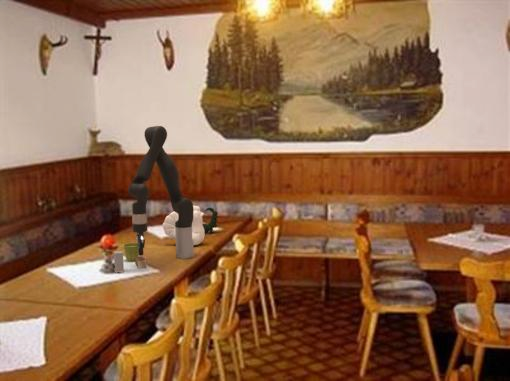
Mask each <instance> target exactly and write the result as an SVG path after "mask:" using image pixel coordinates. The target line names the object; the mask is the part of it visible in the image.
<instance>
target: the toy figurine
mask: <svg viewBox="0 0 510 381" xmlns="http://www.w3.org/2000/svg"><path fill="white" fill-rule="evenodd" d="M207 211H210V213H212V215H211V219H210V222H209V223H203V224H202V225H203V228H204V230H205V231H204V233H205V235H206V233H213V231H214V228H215V229H216V228H217V227H218V224H217V223H218V218H219V216H218V215H219V212H218V211H217V210H215V209H214V207H206V209H205V212H207Z"/></svg>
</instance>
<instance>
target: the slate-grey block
mask: <svg viewBox="0 0 510 381" xmlns="http://www.w3.org/2000/svg"><path fill="white" fill-rule="evenodd" d="M113 265H114V266H115V268H114V273H115V272H122V273H125V267H124V252H123V251H122V250H118V251H113Z"/></svg>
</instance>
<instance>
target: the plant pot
mask: <svg viewBox="0 0 510 381" xmlns="http://www.w3.org/2000/svg"><path fill="white" fill-rule="evenodd" d="M122 246H123V249H124V253H125V258H126V261H127V260H128V261H127V262H135V257H139V256H140V255H139V249H138V246H137V242H128V243H124V244H122Z"/></svg>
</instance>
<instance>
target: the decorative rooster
mask: <svg viewBox="0 0 510 381" xmlns="http://www.w3.org/2000/svg"><path fill="white" fill-rule="evenodd" d="M178 215H179V214H178V213H176V212H175V211H174V210H173V211H172V212H170V213H169V215H167V216H166V217H165V219H164V220H163V221H164V222H163V223H162V228H163V231H164V234H165V235H166V236H168V237H169V238H170V239H175V240H176V234H175V222H176V221H178ZM204 215H205V213H204V212H202V211H201V207H200V206H199V205H194V204H193V222H192V240H193V245H194V246H197V245H200V244H201V243H202V242H203V241H204V238H205V235H206V234H205V233H204V231H205V230H204V228H203V225H202V224H204V223H203V216H204Z"/></svg>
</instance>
